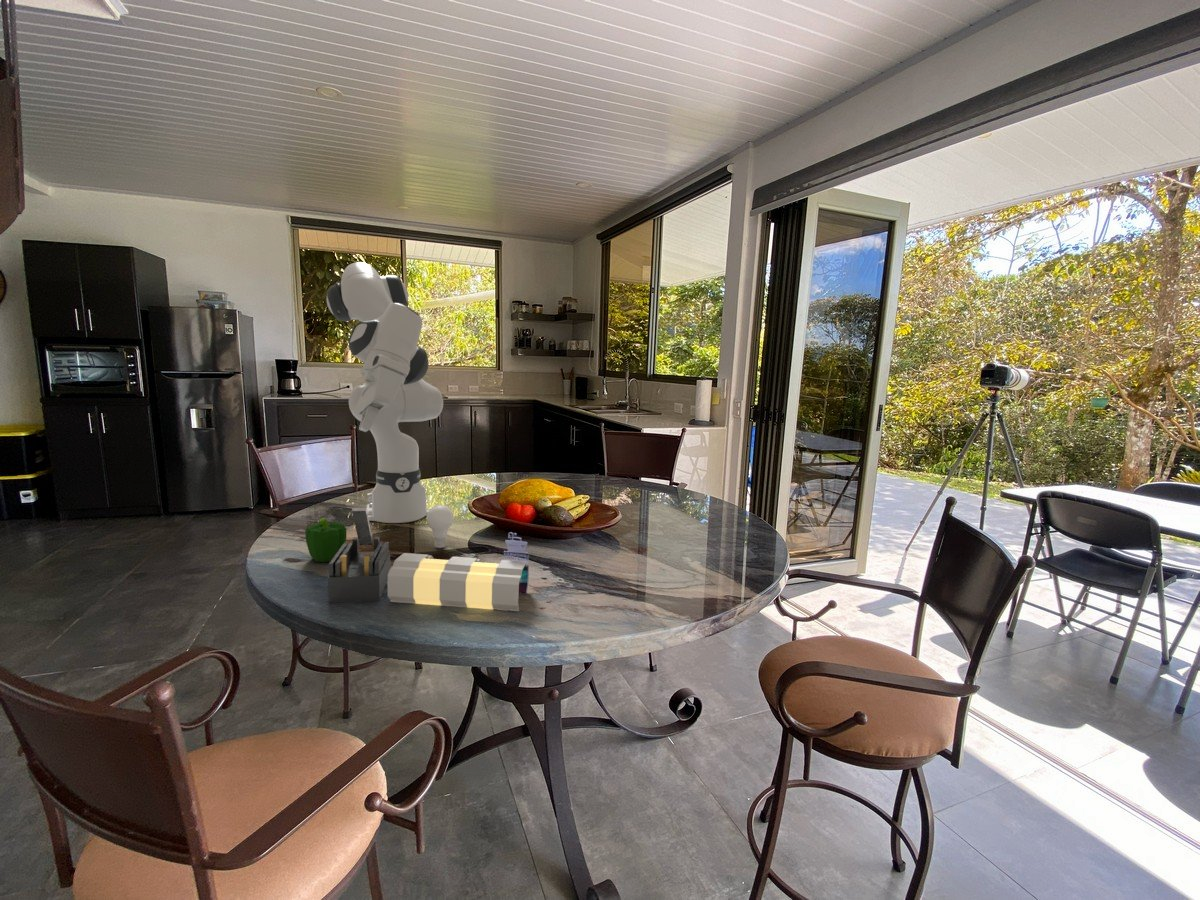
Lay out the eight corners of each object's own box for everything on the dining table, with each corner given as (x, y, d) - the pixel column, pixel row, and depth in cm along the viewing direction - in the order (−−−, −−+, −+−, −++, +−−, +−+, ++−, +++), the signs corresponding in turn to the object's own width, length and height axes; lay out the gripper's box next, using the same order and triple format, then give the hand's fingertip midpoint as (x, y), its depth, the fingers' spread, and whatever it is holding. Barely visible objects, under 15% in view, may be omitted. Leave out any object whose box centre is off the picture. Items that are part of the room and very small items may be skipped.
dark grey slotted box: (344, 575, 112) (344, 537, 110) (390, 574, 114) (389, 536, 112) (328, 602, 99) (327, 559, 98) (379, 600, 101) (378, 558, 100)
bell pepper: (323, 550, 126) (322, 509, 124) (353, 554, 124) (353, 513, 122) (296, 562, 117) (294, 519, 116) (328, 567, 116) (327, 523, 114)
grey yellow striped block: (528, 592, 109) (530, 531, 107) (518, 615, 99) (520, 548, 97) (410, 583, 110) (410, 523, 108) (387, 605, 100) (387, 539, 98)
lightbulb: (445, 553, 127) (445, 509, 126) (421, 550, 129) (421, 507, 127) (457, 545, 134) (458, 503, 132) (434, 542, 135) (434, 500, 133)
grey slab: (359, 546, 110) (360, 542, 111) (372, 546, 111) (373, 542, 112) (351, 511, 102) (352, 507, 103) (365, 511, 103) (366, 507, 104)
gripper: (359, 377, 122) (338, 432, 118) (382, 353, 106) (359, 416, 102) (386, 387, 126) (367, 441, 121) (413, 366, 109) (391, 427, 105)
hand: (364, 430), depth 112 cm, fingers closed
